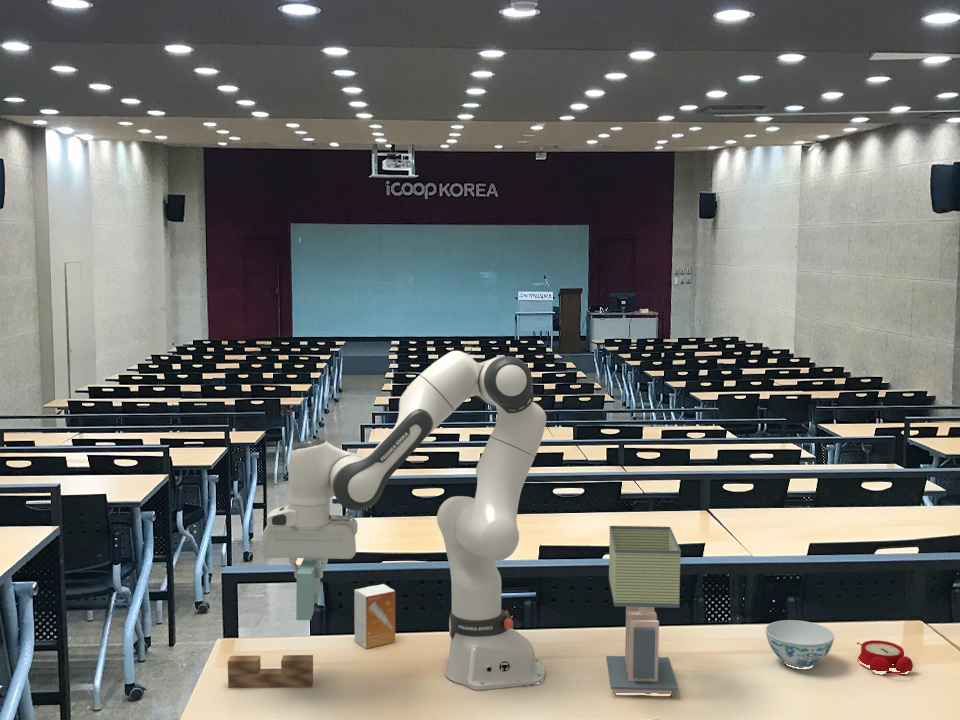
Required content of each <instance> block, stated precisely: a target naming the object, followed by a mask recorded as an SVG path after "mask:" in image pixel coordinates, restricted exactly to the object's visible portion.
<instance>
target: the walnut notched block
mask: <svg viewBox="0 0 960 720" xmlns="http://www.w3.org/2000/svg"><path fill="white" fill-rule="evenodd" d="M280 660H281V661H280V668H276V667H275V668H261V655H230V656H229V658H228V660H227V684H228V685H227V688H229V689H230V688H231V689H233V688H234V689H235V688H237V689H242V688H243V689H245V688H246V689H247V688H250V689H252V688H253V689H254V688H259V689H260V688H312V687H313V684H314V654H295V655H294V654H291V655H290V654H284V655H282V658H281V659H280Z"/></svg>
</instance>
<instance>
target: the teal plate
mask: <svg viewBox="0 0 960 720" xmlns="http://www.w3.org/2000/svg"><path fill="white" fill-rule="evenodd" d="M320 567H321V558H302V561H301V563H300V566H298V568H299V569H298V572H297V578H296V599H295V600H296V605H295V606H296V611H295V613H296V615H295V616H296V617H295V618H296V619H295V620H296V621H311V620H312V617H313V616H314V613H315V604H318V602H319V600H320V596H321V578H315V575H316V574H315V570H316V568H320Z"/></svg>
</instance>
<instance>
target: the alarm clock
mask: <svg viewBox="0 0 960 720" xmlns="http://www.w3.org/2000/svg"><path fill="white" fill-rule="evenodd" d="M856 644H857V645H860V653H859V656H858V657H857V660H858V659H859V660H860V661H861V662H862V663H864V664H866V665H870V669H871V670H876V671H887V672H890V673H889V674H898V673H905V672H907V671H911V672H912V670H913V667H914V665H913V661H912V659H911V658H910V657H908V656H905V651H904V650H905V649H904V648H903V647H902V646H900V645H898V644H896V643H893V642H890V641H887V640H886V641H885V640H879V639H878V640H875V639H873V640H867V641H864V642H863V643H860V642H858V641H857V642H856ZM892 664H894V665H892ZM889 668H896V670H897V671H900V672H892V671H889ZM870 669H869V670H870ZM871 670H870V671H871Z"/></svg>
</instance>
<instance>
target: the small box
mask: <svg viewBox="0 0 960 720" xmlns="http://www.w3.org/2000/svg"><path fill="white" fill-rule="evenodd" d="M353 592H354V603H353V604H354V642H355V643H357V644H359V645H360V646H361V647H363V648H365V649H367V650H368V649H370V648H371V649H372V648H374V647H379V646H383V645H389V644H394V643H395V642H396V590H395V589H393V588H391V587H389V586H388V585H386V584H385V583H382V584H377V585H371V586H370V585H369V586H366V587H362V588H356V589H354V591H353Z"/></svg>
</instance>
